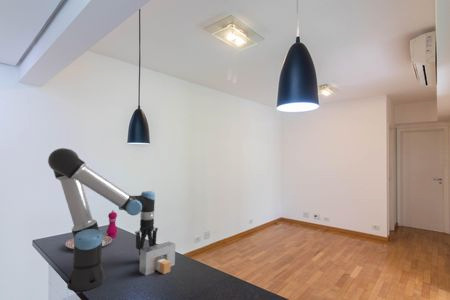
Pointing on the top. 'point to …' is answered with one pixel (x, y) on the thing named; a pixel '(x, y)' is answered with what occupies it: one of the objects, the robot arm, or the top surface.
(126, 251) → the top surface
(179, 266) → the top surface
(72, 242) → the dinner plate
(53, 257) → the top surface
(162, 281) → the top surface
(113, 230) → the pepper mill
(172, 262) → the grey arch-shaped block
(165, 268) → the white and orange bar
